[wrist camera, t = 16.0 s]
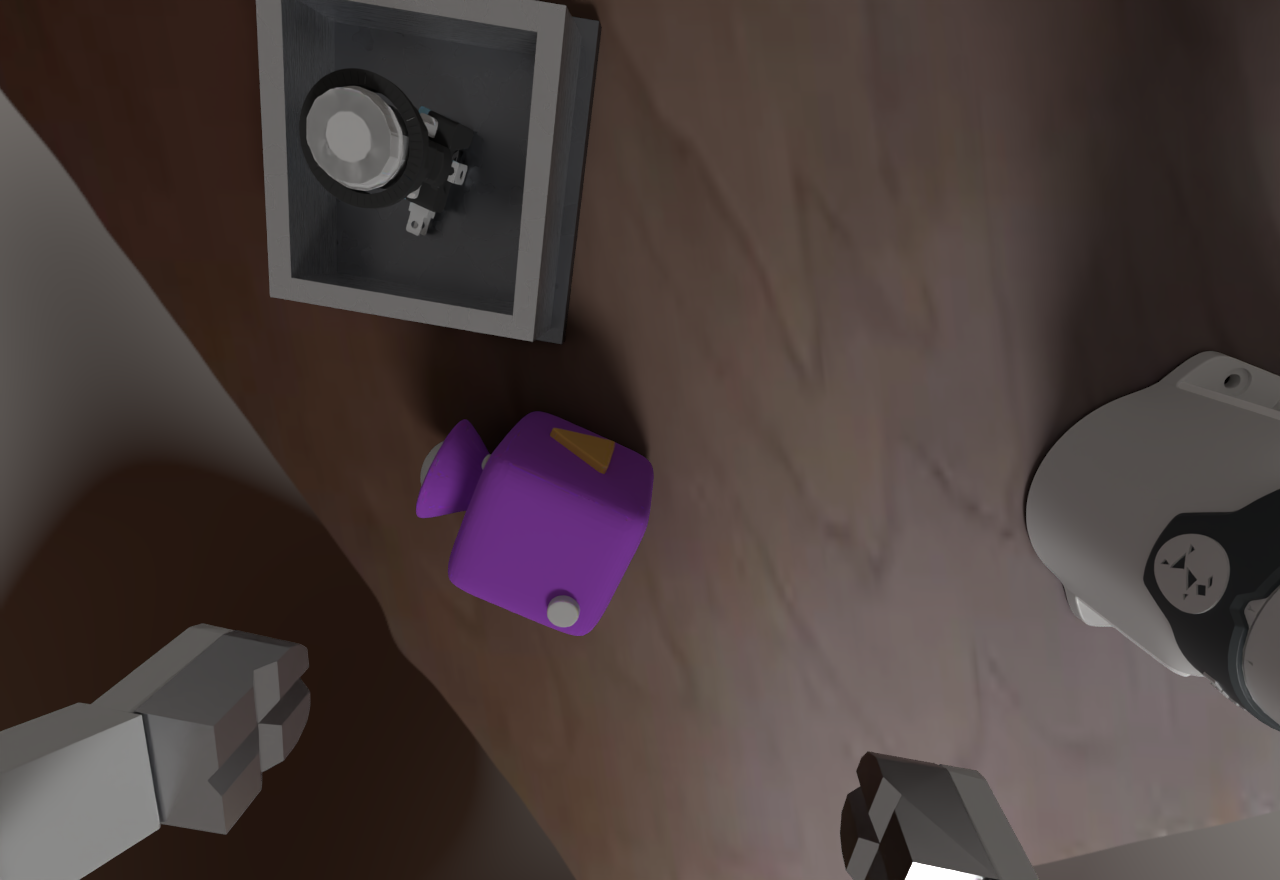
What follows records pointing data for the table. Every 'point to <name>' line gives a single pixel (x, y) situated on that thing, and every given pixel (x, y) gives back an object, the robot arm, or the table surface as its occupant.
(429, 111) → the push button
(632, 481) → the toy camera
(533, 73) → the grey open box
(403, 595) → the table surface
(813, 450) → the table surface
